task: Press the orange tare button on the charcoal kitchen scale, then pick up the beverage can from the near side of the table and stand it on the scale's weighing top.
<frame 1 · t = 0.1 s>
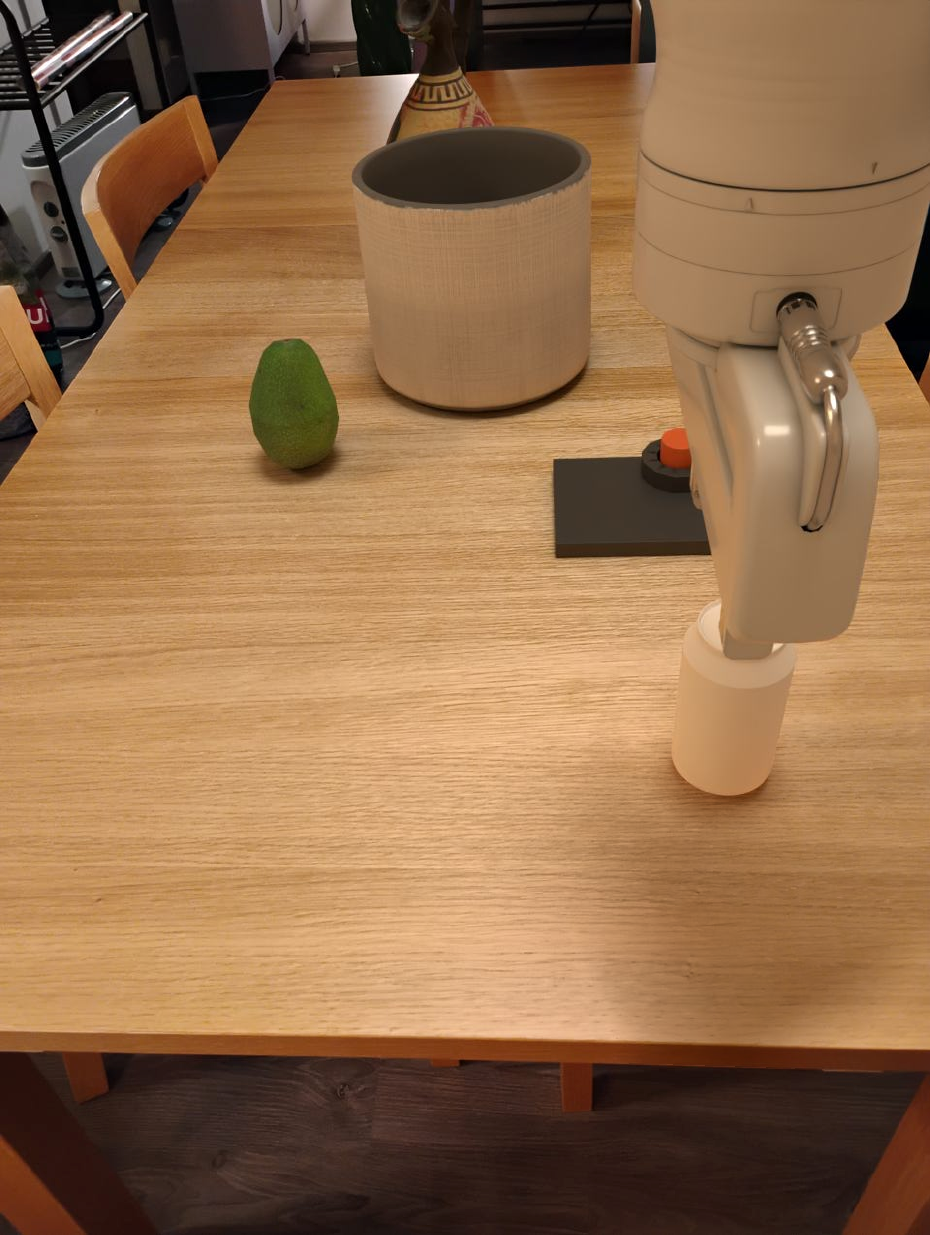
hand: (725, 567, 41), 23 cm above the table, tool pointing down, fingers open, 8 cm apart
beverage can: (719, 766, 63), on the table
ceramic jug: (453, 245, 127), on the table
chalice: (791, 487, 84), on the table
avocado: (303, 462, 92), on the table
planter: (482, 366, 103), on the table
tare button: (680, 448, 83), point 4 cm above the table, slide at 0.1 cm
scale: (632, 510, 83), on the table
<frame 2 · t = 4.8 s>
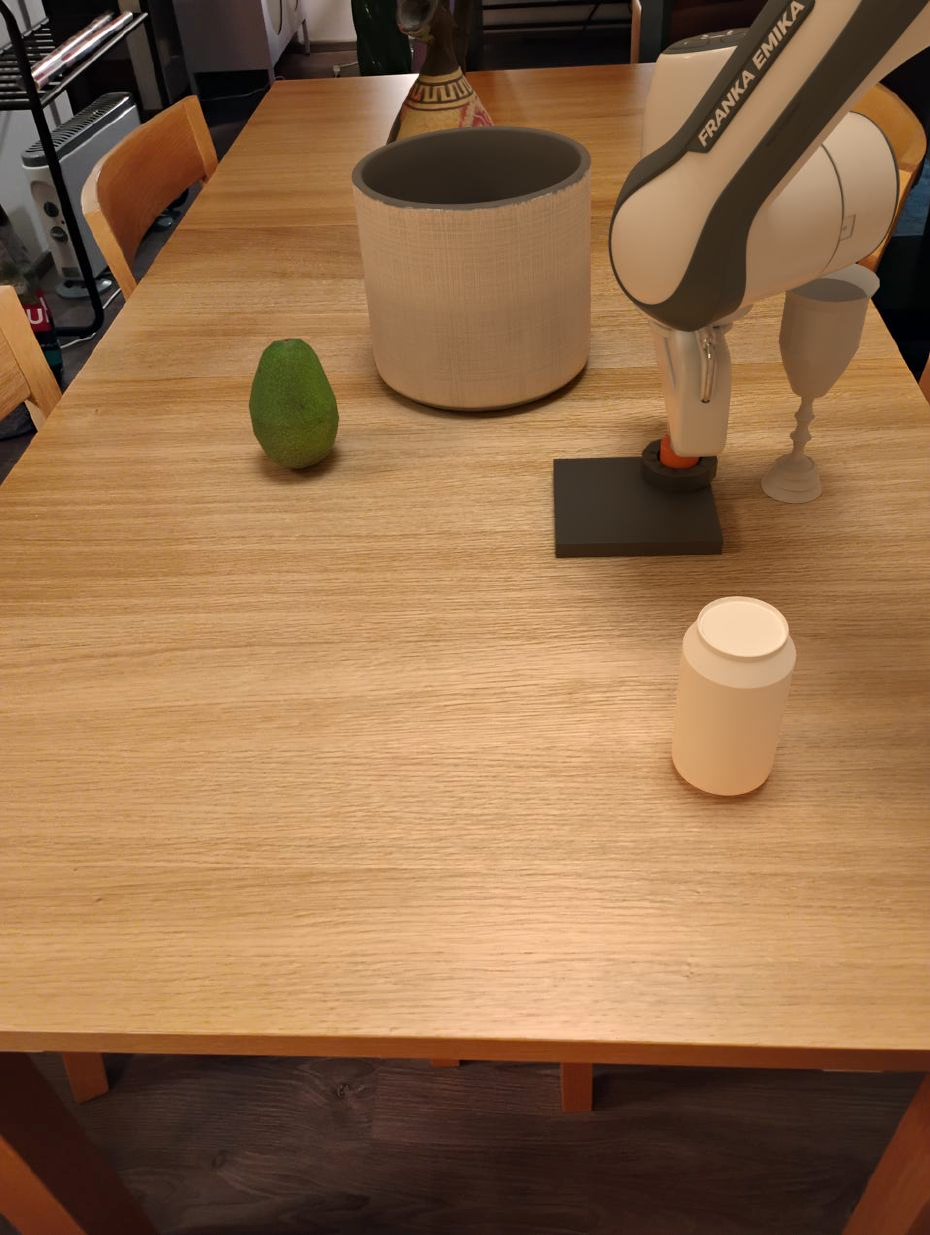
hand: (679, 441, 82), 4 cm above the table, tool pointing down, fingers closed, pressing on tare button
tare button: (679, 452, 83), point 3 cm above the table, slide at -0.2 cm, touching gripper
everything else where it was.
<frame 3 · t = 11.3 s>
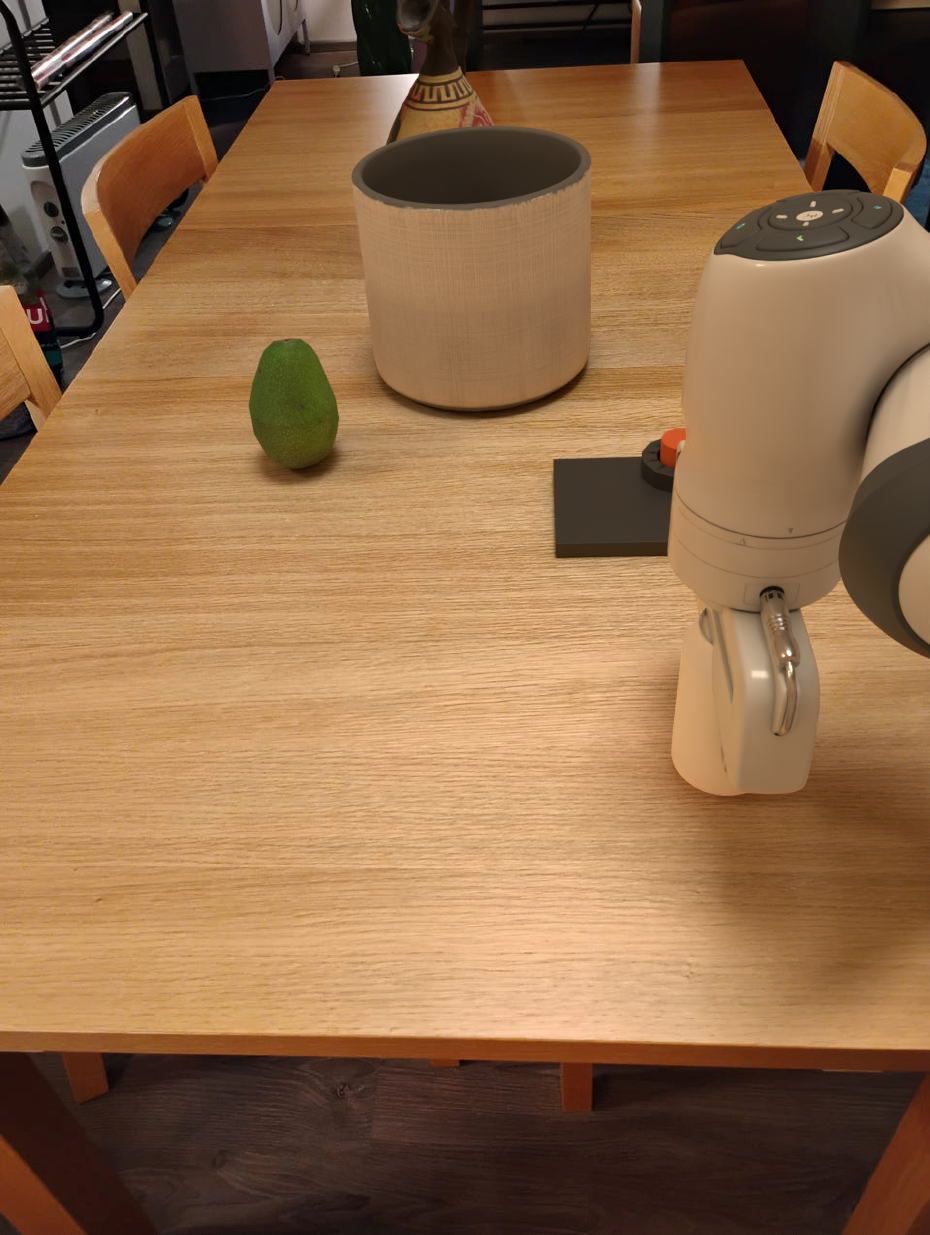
hand: (727, 714, 60), 5 cm above the table, tool pointing down, fingers closed on beverage can, 6 cm apart
beverage can: (719, 766, 63), on the table, touching gripper
tare button: (680, 449, 83), point 4 cm above the table, slide at 0.1 cm
everything else where it was.
when the fingers open (6 cm above the table, at t = 20.1 s): beverage can stays where it is, resting on scale.
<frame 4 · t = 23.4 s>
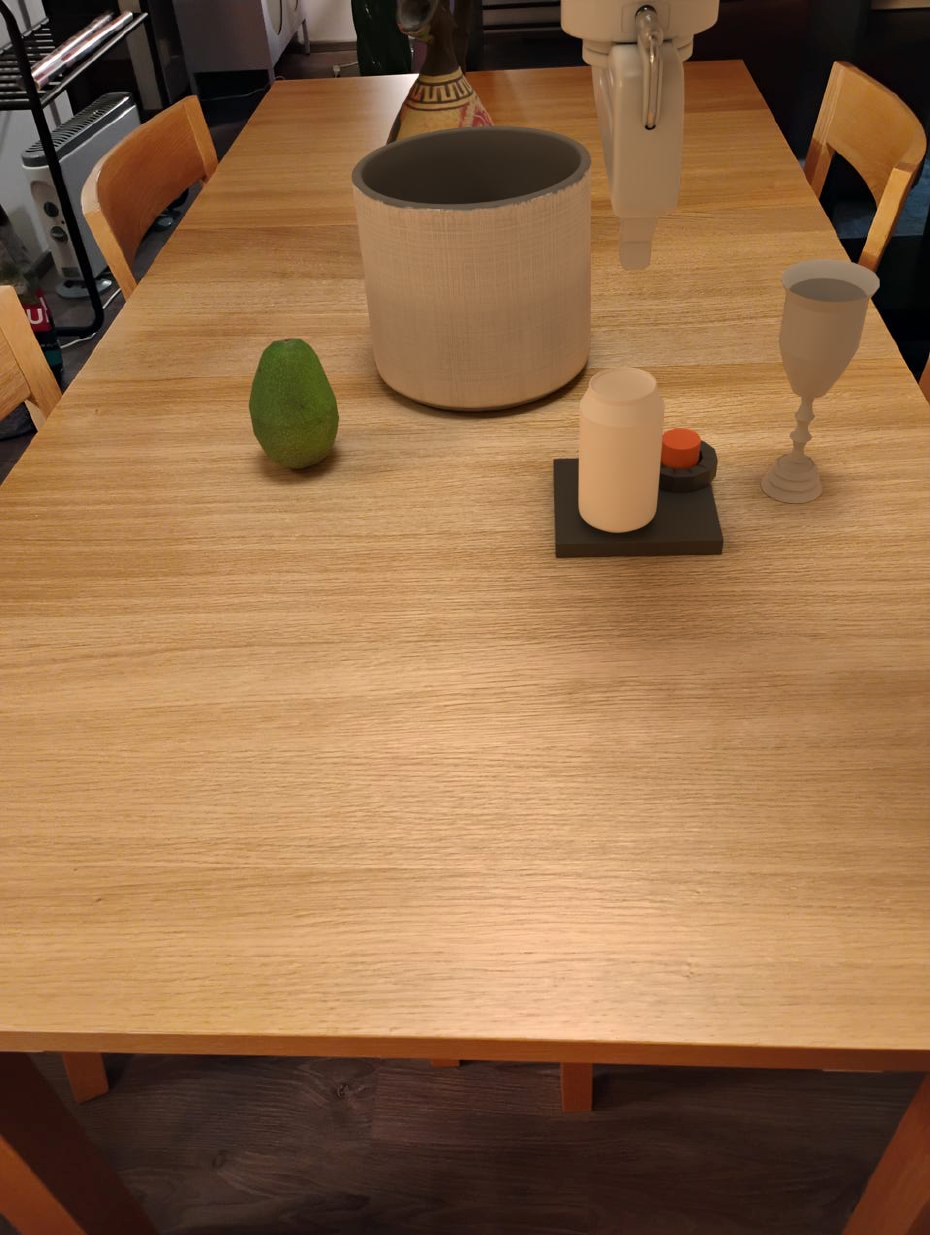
hand: (628, 235, 65), 24 cm above the table, tool pointing down, fingers open, 8 cm apart
beverage can: (616, 518, 80), point 1 cm above the table, touching scale
everything else where it was.
at the end: tare button pushed in 0.9 cm at the most during the clip, back to where it started at the end; tare button slide at 0.1 cm; beverage can inside the target area on the scale (0.1 cm from its centre), point 1.2 cm above the scale's base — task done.
